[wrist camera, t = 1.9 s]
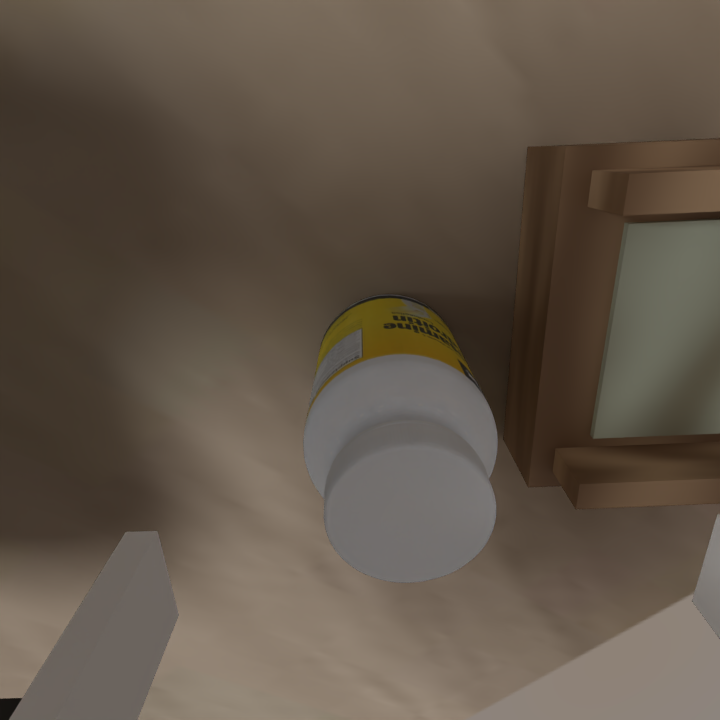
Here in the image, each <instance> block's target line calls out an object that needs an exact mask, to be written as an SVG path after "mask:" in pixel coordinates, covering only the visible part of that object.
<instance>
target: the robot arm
mask: <svg viewBox="0 0 720 720" xmlns="http://www.w3.org/2000/svg"><path fill="white" fill-rule="evenodd" d="M692 602H693V603H694V605H695V606H696V607H697V609H698V610H699V611H700V613H701V614H702V616H703V617H704V618H705V620H706V621H707V622H708V624H709V625H710V626H711V628H712V629H713V631H714V632H715V633H716V634H717V636H718V637H719V639H720V514H717V518H716V521H715V525H714V528H713V531H712V535H711V538H710V542H709V545H708V548H707V552H706V555H705V559H704V562H703V565H702V569H701V572H700V576H699V579H698V582H697V586H696V589H695V592H694V596H693V600H692ZM178 616H179V614H178V610H177V606H176V602H175V598H174V594H173V590H172V586H171V582H170V578H169V574H168V570H167V566H166V562H165V558H164V554H163V550H162V546H161V542H160V538H159V534H158V531H137V532H125V534H124V535H123V537H122V539H121V540H120V542H119V543H118V545H117V547H116V548H115V550H114V552H113V553H112V555H111V556H110V558H109V560H108V561H107V563H106V564H105V566H104V568H103V569H102V571H101V572H100V574H99V576H98V577H97V579H96V580H95V582H94V584H93V585H92V587H91V589H90V590H89V592H88V593H87V595H86V597H85V598H84V600H83V601H82V603H81V605H80V606H79V608H78V609H77V611H76V613H75V614H74V616H73V617H72V619H71V621H70V622H69V624H68V626H67V627H66V629H65V630H64V632H63V634H62V635H61V637H60V638H59V640H58V642H57V643H56V645H55V646H54V648H53V650H52V651H51V653H50V654H49V656H48V658H47V659H46V661H45V663H44V664H43V666H42V667H41V669H40V671H39V672H38V674H37V675H36V677H35V679H34V680H33V682H32V683H31V685H30V687H29V688H28V690H27V692H26V693H25V695H24V696H23V698H10V699H0V720H137V719H138V717H139V714H140V712H141V709H142V707H143V704H144V702H145V699H146V696H147V694H148V691H149V689H150V686H151V684H152V681H153V679H154V676H155V674H156V671H157V669H158V666H159V664H160V661H161V659H162V656H163V654H164V651H165V648H166V646H167V643H168V641H169V638H170V636H171V633H172V631H173V628H174V626H175V623H176V621H177V618H178Z"/></svg>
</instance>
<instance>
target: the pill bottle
mask: <svg viewBox="0 0 720 720" xmlns="http://www.w3.org/2000/svg"><path fill="white" fill-rule="evenodd" d="M303 446H304V458H305V462H306V466H307V469H308V472H309V475H310V477H311V480H312V482H313V484H314V485H315V487H316V489H317V490H318V492H319V493H320V494H321V496H322V497H323V498H324V523H325V529H326V532H327V535H328V538H329V540H330V542H331V544H332V546H333V547H334V549H335V550H336V552H337V553H338V554H339V555H340V556H341V558H342V559H343V560H345V561H346V562H347V563H348V564H349V565H351V566H352V567H353V568H355V569H356V570H358V571H360V572H362V573H364V574H366V575H369V576H371V577H374V578H377V579H380V580H385V581H390V582H399V583H412V582H421V581H427V580H431V579H435V578H439V577H442V576H445V575H448V574H450V573H453V572H454V571H456V570H458V569H460V568H461V567H463V566H464V565H466V564H467V563H468V562H470V561H471V560H472V559H473V558H474V557H475V556H476V555H477V554H478V553H479V552H480V551H481V550H482V549H483V548H484V546H485V544H486V543H487V541H488V539H489V537H490V535H491V533H492V531H493V528H494V524H495V519H496V500H495V495H494V492H493V488H492V485H491V483H490V480H489V478H490V476H491V474H492V471H493V468H494V465H495V461H496V456H497V447H498V438H497V429H496V424H495V420H494V417H493V414H492V411H491V409H490V407H489V404H488V401H487V400H486V399H485V396H484V395H483V393H482V391H481V389H480V387H479V385H478V383H477V382H476V380H475V378H474V376H473V374H472V372H471V371H470V369H469V367H468V365H467V363H466V361H465V359H464V357H463V355H462V353H461V351H460V349H459V347H458V345H457V343H456V341H455V339H454V337H453V335H452V333H451V331H450V330H449V328H448V326H447V325H446V323H445V322H444V321H443V320H442V318H441V317H440V316H439V315H438V314H437V313H436V312H435V311H433V310H432V309H431V308H430V307H428V306H427V305H425V304H423V303H421V302H419V301H417V300H415V299H412V298H409V297H405V296H400V295H377V296H372V297H368V298H365V299H363V300H360V301H358V302H356V303H354V304H352V305H351V306H349V307H348V308H346V309H345V310H344V311H342V312H341V313H340V314H339V315H338V316H337V317H336V318H335V320H334V321H333V322H332V323H331V325H330V326H329V328H328V330H327V331H326V333H325V335H324V338H323V340H322V343H321V347H320V351H319V357H318V362H317V368H316V372H315V377H314V382H313V388H312V393H311V398H310V403H309V408H308V413H307V418H306V424H305V430H304V440H303Z"/></svg>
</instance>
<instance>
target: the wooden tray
mask: <svg viewBox="0 0 720 720" xmlns="http://www.w3.org/2000/svg"><path fill="white" fill-rule="evenodd" d="M503 440H504V441H505V443H506V445H507V447H508V449H509V451H510V453H511V455H512V457H513V459H514V461H515V463H516V465H517V467H518V469H519V471H520V472H521V474H522V476H523V478H524V480H525V482H526V484H527V486H528V487H548V486H562V488H563V489H564V491H565V492H566V494H567V496H568V497H569V499H570V501H571V502H572V504H573V505H574V507H575V509H596V508H621V507H645V506H670V505H695V504H719V503H720V138H717V139H694V140H672V141H649V142H627V143H604V144H582V145H559V146H537V147H528V149H527V161H526V173H525V185H524V197H523V209H522V221H521V233H520V245H519V257H518V269H517V281H516V293H515V305H514V317H513V329H512V341H511V353H510V365H509V377H508V389H507V401H506V413H505V425H504V437H503Z"/></svg>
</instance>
